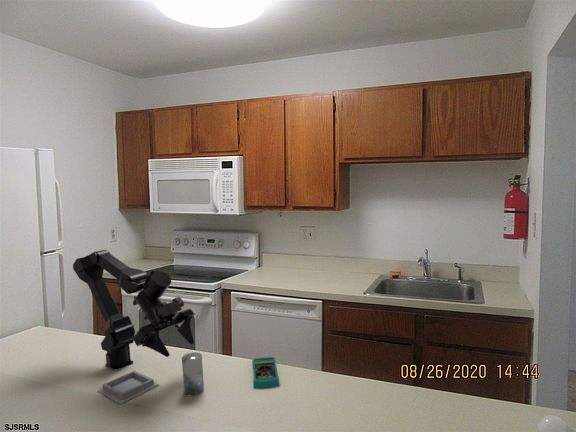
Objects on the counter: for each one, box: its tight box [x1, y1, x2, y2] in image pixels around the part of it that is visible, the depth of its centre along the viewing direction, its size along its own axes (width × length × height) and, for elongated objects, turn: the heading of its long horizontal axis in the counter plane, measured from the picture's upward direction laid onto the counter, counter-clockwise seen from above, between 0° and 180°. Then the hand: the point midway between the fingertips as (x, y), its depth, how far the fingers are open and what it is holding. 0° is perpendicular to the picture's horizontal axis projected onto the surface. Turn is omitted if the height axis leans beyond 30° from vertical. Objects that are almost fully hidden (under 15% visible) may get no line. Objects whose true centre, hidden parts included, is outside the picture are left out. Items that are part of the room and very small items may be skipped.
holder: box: [97, 370, 160, 405], centre depth 119 cm, size 12×12×2 cm
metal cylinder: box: [181, 352, 205, 397], centre depth 116 cm, size 6×6×10 cm
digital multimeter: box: [251, 356, 280, 389], centre depth 124 cm, size 7×15×3 cm, turn 6°
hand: (181, 349), depth 117 cm, fingers open, 9 cm apart
